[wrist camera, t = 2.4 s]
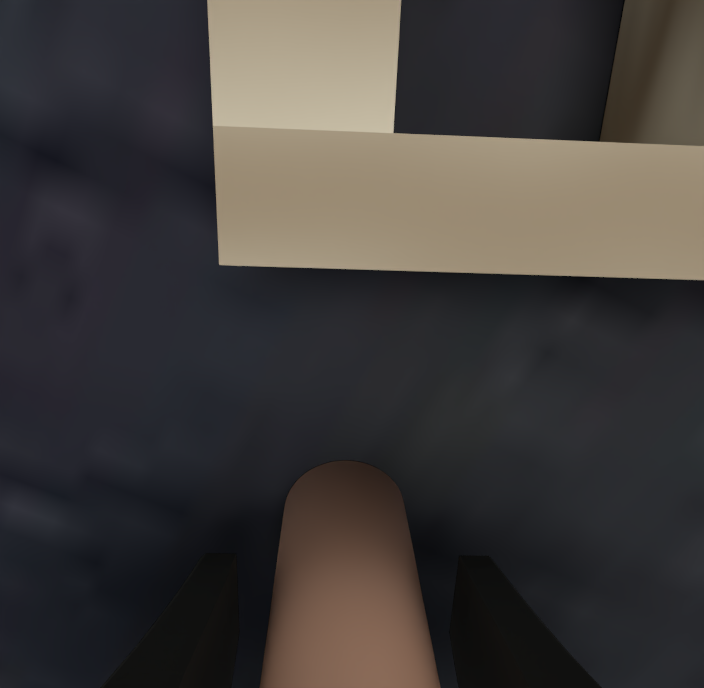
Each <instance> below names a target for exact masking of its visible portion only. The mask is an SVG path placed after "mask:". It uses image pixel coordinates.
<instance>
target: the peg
mask: <svg viewBox="0 0 704 688" xmlns="http://www.w3.org/2000/svg"><path fill="white" fill-rule="evenodd" d="M260 688H440V683H439V677H438V672H437V667H436V662H435V657H434V652H433V647H432V642H431V637H430V632H429V627H428V622H427V617H426V612H425V607H424V602H423V597H422V592H421V586H420V581H419V576H418V571H417V566H416V561H415V556H414V551H413V546H412V541H411V536H410V531H409V526H408V521H407V516H406V511H405V506H404V501H403V497H402V494H401V492H400V490H399V488H398V487H397V485H396V484H395V482H394V481H393V480H392V479H391V478H390V477H389V476H388V475H387V474H385V473H384V472H383V471H381V470H379V469H378V468H376V467H374V466H371V465H369V464H365V463H362V462H357V461H334V462H329V463H325V464H322V465H320V466H317V467H315V468H313V469H311V470H309V471H308V472H306V473H305V474H304V475H302V476H301V477H300V478H299V479H298V480H297V481H296V482H295V484H294V485H293V486H292V488H291V489H290V491H289V493H288V496H287V498H286V502H285V506H284V514H283V521H282V528H281V536H280V543H279V550H278V557H277V565H276V572H275V579H274V587H273V594H272V601H271V608H270V616H269V623H268V630H267V637H266V645H265V652H264V659H263V667H262V674H261V681H260Z"/></svg>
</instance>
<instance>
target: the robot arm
mask: <svg viewBox="0 0 704 688" xmlns="http://www.w3.org/2000/svg"><path fill="white" fill-rule="evenodd" d="M449 633H450V639H451V646H452V652H453V658H454V664H455V670H456V676H457V682H458V687H459V688H602V687H601V686H600V685H599V684H598V683H597V682H596V681H595V680H594V679H593V678H592V677H591V676H590V675H589V674H588V673H587V672H586V671H585V670H584V669H583V667H582V666H581V665H580V664H579V663H578V662H577V661H576V660H575V659H574V658H573V657H572V655H571V654H570V653H569V652H568V651H567V650H566V649H565V648H564V647H563V645H562V644H561V643H560V642H559V641H558V640H557V638H556V637H555V636H554V635H553V634H552V633H551V632H550V630H549V629H548V628H547V627H546V626H545V625H544V623H543V622H542V621H541V620H540V619H539V618H538V616H537V615H536V614H535V613H534V612H533V610H532V609H531V608H530V607H529V605H528V604H527V603H526V602H525V600H524V599H523V598H522V597H521V596H520V594H519V593H518V592H517V590H516V589H515V588H514V587H513V585H512V584H511V583H510V582H509V580H508V579H507V578H506V577H505V575H504V574H503V573H502V571H501V570H500V569H499V568H498V566H497V565H496V564H495V562H494V561H493V560H492V559H491V558H490V557H489V556H459V561H458V569H457V577H456V585H455V592H454V600H453V608H452V616H451V623H450V631H449ZM238 638H239V608H238V584H237V559H236V554H226V553H206V554H205V555H203V556H202V557H201V558H200V559H199V561H198V563H197V564H196V566H195V567H194V569H193V570H192V572H191V573H190V575H189V576H188V578H187V579H186V581H185V582H184V584H183V585H182V586H181V588H180V589H179V591H178V592H177V593H176V595H175V596H174V598H173V599H172V600H171V602H170V603H169V604H168V606H167V607H166V609H165V610H164V611H163V612H162V614H161V615H160V616H159V618H158V619H157V620H156V621H155V623H154V624H153V625H152V627H151V628H150V629H149V631H148V632H147V633H146V634H145V636H144V637H143V638H142V640H141V641H140V642H139V643H138V644H137V646H136V647H135V648H134V649H133V650H132V652H131V653H130V654H129V655H128V656H127V657H126V659H125V660H124V661H123V662H122V663H121V665H120V666H119V667H118V668H117V669H116V670H115V672H114V673H113V674H112V675H111V676H110V677H109V679H108V680H107V681H106V682H105V683H104V684H103V685H102V687H101V688H231V685H232V679H233V672H234V666H235V659H236V652H237V645H238Z"/></svg>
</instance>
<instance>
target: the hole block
mask: <svg viewBox="0 0 704 688" xmlns="http://www.w3.org/2000/svg"><path fill="white" fill-rule="evenodd" d="M207 2H208V24H209V47H210V69H211V91H212V114H213V136H214V159H215V181H216V203H217V226H218V248H219V265H233V266H265V267H297V268H330V269H362V270H394V271H426V272H458V273H491V274H523V275H555V276H587V277H619V278H651V279H684V280H704V0H625V2H624V8H623V14H622V19H621V25H620V30H619V36H618V41H617V47H616V53H615V58H614V64H613V69H612V75H611V81H610V86H609V92H608V97H607V103H606V108H605V114H604V120H603V125H602V131H601V136H600V142H591V141H567V140H543V139H519V138H495V137H471V136H447V135H423V134H399V133H393V130H394V113H395V96H396V79H397V62H398V45H399V28H400V12H401V0H207Z"/></svg>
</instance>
